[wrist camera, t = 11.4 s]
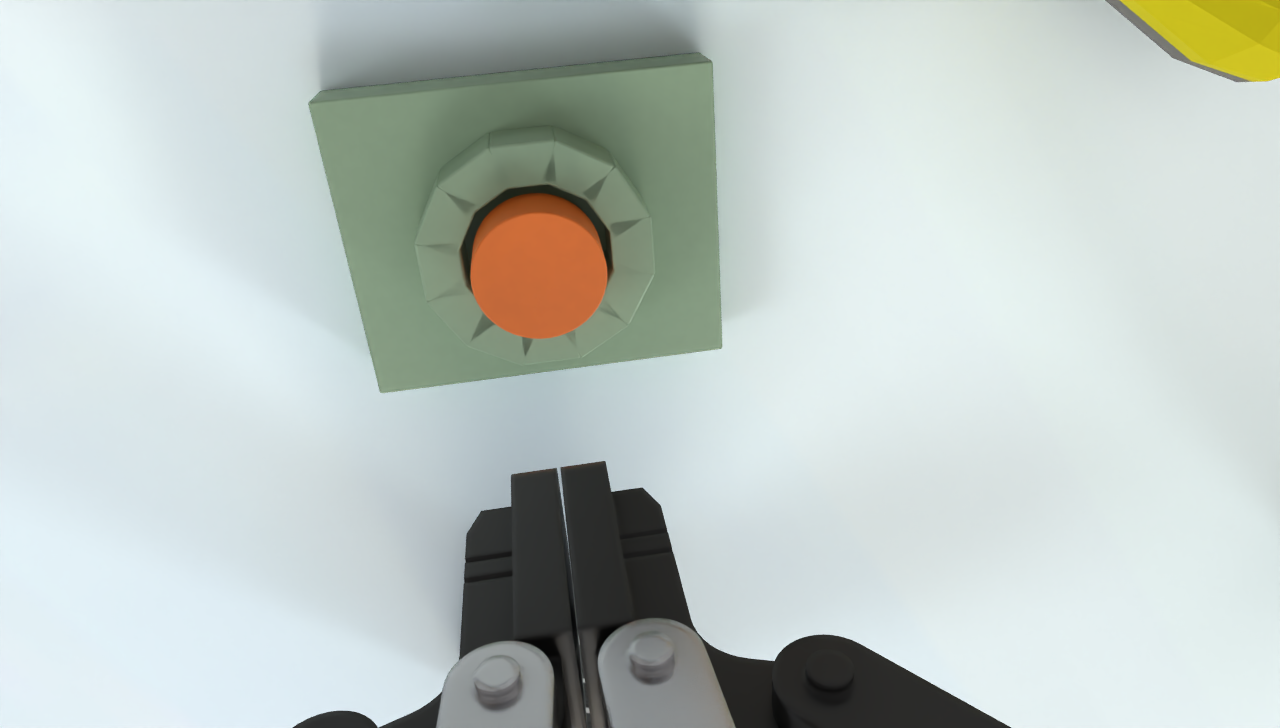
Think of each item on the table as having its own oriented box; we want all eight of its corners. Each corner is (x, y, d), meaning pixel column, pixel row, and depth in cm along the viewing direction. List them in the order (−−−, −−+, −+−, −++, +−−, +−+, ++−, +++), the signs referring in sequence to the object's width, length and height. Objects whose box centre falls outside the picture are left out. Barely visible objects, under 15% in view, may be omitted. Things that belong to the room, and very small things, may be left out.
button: (594, 185, 24) (600, 204, 22) (606, 305, 26) (613, 330, 24) (462, 200, 24) (459, 220, 22) (483, 321, 25) (482, 347, 24)
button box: (700, 51, 26) (727, 71, 23) (711, 327, 30) (735, 375, 27) (319, 90, 25) (292, 116, 22) (386, 369, 29) (372, 424, 26)
